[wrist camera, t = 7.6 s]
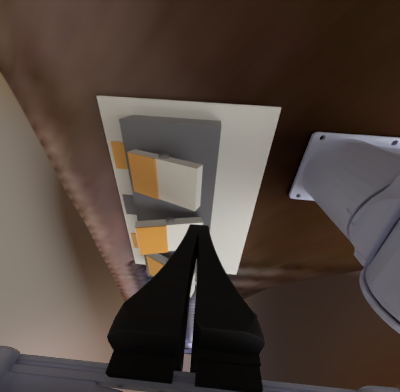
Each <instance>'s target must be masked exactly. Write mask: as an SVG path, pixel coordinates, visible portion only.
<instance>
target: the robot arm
mask: <svg viewBox="0 0 400 392" xmlns="http://www.w3.org/2000/svg"><path fill="white" fill-rule="evenodd" d="M322 135H323V138H322V139H320V137H321V136H322ZM393 141H394V143H393V144H392V142H393ZM297 194H299V195H298V196H296V195H297ZM289 196H290V198H292V199H301V200H312V201H315V202H316V203H317V204H318V205H319V206H320V207H321V208H322V210H323V211H324V212H325V213H326V214H327V215H328V216H329V218H330V219H331V220H332V221H333V222H334V223H335V224H336V226H337V227H338V228H339V229H340V230H341V231H342V232H343V234H344V235H345V236H346V237H347V238H348V239H349V240H350V242H351V243H352V244H353V245H354V247H355V253H354V256H355V257H356V258H357V259H358V261H359V262H360V263H361V264H362V265H363V267H365V268H364V269H363V270H362V272H361V274H360V287H361V290H362V292H363V294H364V296H365V298H366V300H367V301H368V303H369V304H370V305H371V307H372V308H373V309H374V310H375V311H376V313H377V314H378V315H379V316H380V317H381V318H382V319H383V320H384V321H385V322H386V323H387V324H389V325H390V326H391V327H392V328H393V329H395V330H396V331H397V332H398V333H399V334H400V137H387V136H372V135H358V134H344V133H330V132H315V133H313V134H312V136H311V138H310V140H309V143H308V146H307V148H306V151H305V154H304V156H303V159H302V161H301V164H300V167H299V169H298V172H297V174H296V177H295V180H294V182H293V185H292V187H291V190H290V193H289ZM196 259H197V291H196V303H195V314H194V327H193V341H192V354H191V368H190V372H183V371H182V369H183V359H184V349H185V339H186V329H187V319H188V310H189V300H190V292H191V286H192V280H193V275H194V270H195V265H196ZM107 338H108V341H109V343H110V345H111V347H112V348H113V350H114V352H113V354H112V357H111V359H110V362H109V363H100V362H91V361H81V360H71V359H63V358H53V357H45V356H35V355H26V354H20V352H19V351H18V350H16V349H14V348H12V347H8V346H0V392H123V391H120V390H116V389H112V388H119V389H127V390H136V391H145V392H400V390H398V389H397V388H390V387H380V386H365V387H362V388H360V389H359V391H358V390H349V389H339V388H331V387H321V386H312V385H303V384H294V383H284V382H275V381H266V380H261V373H260V366H261V363H260V358H259V353H260V352H261V350H262V349H263V347H264V345H265V342H264V337H263V333H262V330H261V327H260V324H259V322H258V319H257V317H256V315H255V314H254V312H253V311H252V310H251V309H250V308H249V306H248V305H247V304H246V303H245V301H244V300H243V298H242V297H241V295H240V294H239V293H238V291H237V290H236V288H235V286H234V285H233V283H232V282H231V280H230V279H229V277H228V275H227V273H226V272H225V270H224V268H223V266H222V264H221V262H220V260H219V258H218V255H217V253H216V251H215V248H214V245H213V242H212V239H211V236H210V231H209V226H207V225H195V224H191V225H189V228H188V230H187V232H186V234H185V236H184V238H183V240H182V241H181V243H180V245H179V246H178V248H177V249H176V251H175V252H174V253H173V255H172V256H171V257H170V259H169V260H168V261H167V262H166V264H165V265H164V266H163V267H162V268H161V269H160V270H159V272H158V273H157V274H156V275H155V276H154V277H153V278H152V279H151V280H150V281H149V282H148V283H147V284H145V285H144V286H143V287H142V288H141V289H140V290H139V291H138V292H137V293H135V294H134V295H133V296H132V297H131V298H129V299H128V300H127V301H126V302H124V304H123V305H122V307H121V309H120V310H119V312H118V314H117V315H116V317H115V319H114V321H113V324H112V326H111V328H110V331H109V334H108V336H107ZM109 387H110V388H109Z"/></svg>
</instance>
